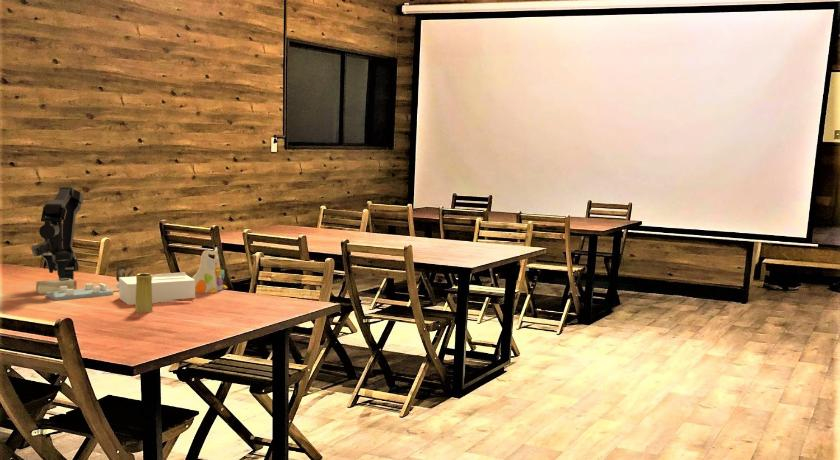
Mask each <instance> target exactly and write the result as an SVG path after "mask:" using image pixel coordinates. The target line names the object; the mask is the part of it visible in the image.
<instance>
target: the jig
mask: <svg viewBox="0 0 840 460" xmlns="http://www.w3.org/2000/svg"><path fill="white" fill-rule="evenodd" d="M45 295H46V296H45V297H46V298H49V299H52V300H53V301H63V300H65V301H66V300H73V299H74V300H75V299H85V298H94V297H104V296H105V297H106V296H113V295H114V290H112V289H109V288H108V284H105V283H102V282H100V283H99V284H98V285H97V286H94V283H85V288H77V289H75V290H74V289H68V287H67V286H60V291H56V292H46V294H45Z"/></svg>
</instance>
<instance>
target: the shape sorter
mask: <svg viewBox="0 0 840 460" xmlns="http://www.w3.org/2000/svg"><path fill="white" fill-rule="evenodd" d="M210 255H211V256H214V258H212V257H210ZM200 256H201V257H200V260H199V262H200V263H199V267H198V270H197V272H195V274H194V275H193V276H192V277H191V278H192V279H194V280H195V294H197V293H198V294H199V293H200V294H201V293H218V291H221V290H223V289H224V290H225V289H228V286H227V285H225V284H224V281H223V279H225V270H224V269H221V265H220V264H221V263H220V256H219V251H218V247H217V246H216V247H214V250H208V249H207V250H204V251H203V252H202V253H201V255H200Z"/></svg>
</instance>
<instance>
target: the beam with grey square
mask: <svg viewBox="0 0 840 460" xmlns="http://www.w3.org/2000/svg"><path fill="white" fill-rule="evenodd" d="M77 285H78V282H77V280H75V279H74V280H73V279H68V278H61V279H59V278H58V279H50V280H49V279H48V280H40V281H35V286H36V287H35V290H36V291H35V293H37V294H39V295H46V292H56V291H60V286H67V287H68V289H74V290H75V289H78V286H77Z"/></svg>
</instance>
